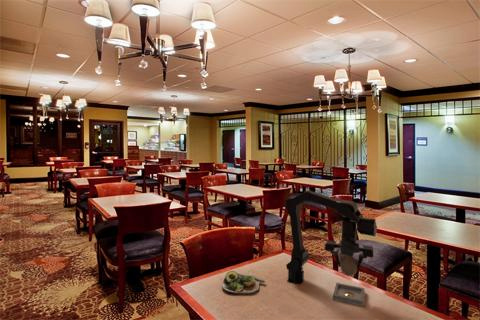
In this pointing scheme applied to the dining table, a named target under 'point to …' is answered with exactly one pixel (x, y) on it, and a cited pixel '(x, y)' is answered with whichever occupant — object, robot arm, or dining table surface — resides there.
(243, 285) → the salad plate
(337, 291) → the grey square tray
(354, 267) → the vase
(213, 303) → the dining table surface
